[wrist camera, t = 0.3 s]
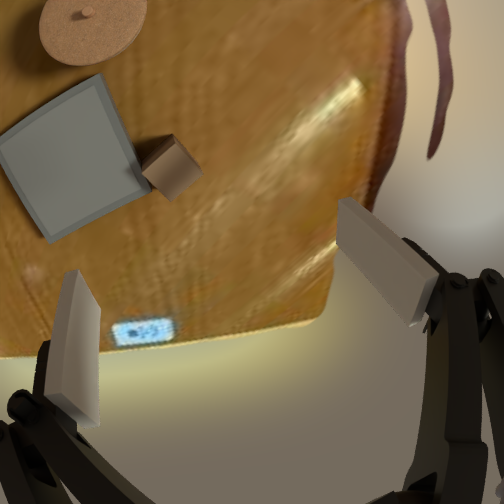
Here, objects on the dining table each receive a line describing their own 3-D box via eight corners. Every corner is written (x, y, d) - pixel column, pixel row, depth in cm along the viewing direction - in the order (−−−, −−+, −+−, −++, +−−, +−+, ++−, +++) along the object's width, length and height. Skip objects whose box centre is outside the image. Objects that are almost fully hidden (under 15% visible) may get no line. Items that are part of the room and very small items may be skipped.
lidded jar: (46, 58, 24) (17, 58, 17) (81, -22, 20) (62, -45, 12) (126, 74, 29) (118, 76, 22) (162, -5, 25) (167, -27, 17)
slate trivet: (-2, 139, 27) (-10, 144, 25) (102, 72, 28) (98, 73, 26) (53, 234, 37) (49, 245, 35) (151, 184, 38) (152, 192, 36)
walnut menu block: (142, 160, 36) (141, 173, 32) (172, 133, 35) (175, 143, 31) (167, 186, 39) (170, 202, 35) (197, 161, 38) (203, 174, 34)
